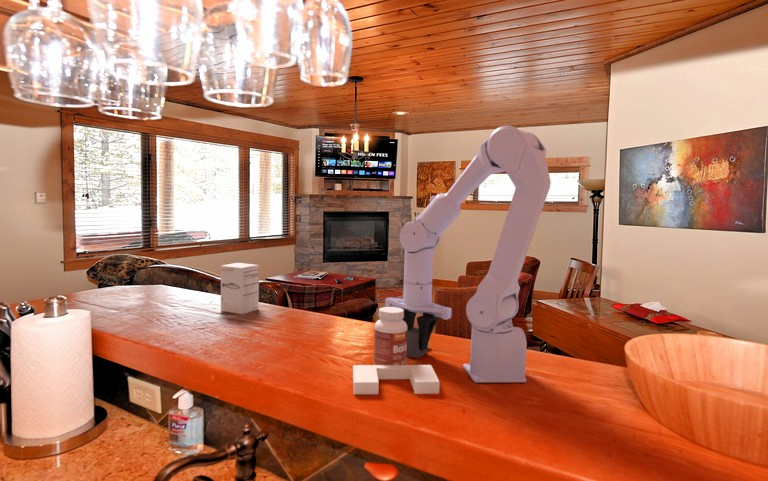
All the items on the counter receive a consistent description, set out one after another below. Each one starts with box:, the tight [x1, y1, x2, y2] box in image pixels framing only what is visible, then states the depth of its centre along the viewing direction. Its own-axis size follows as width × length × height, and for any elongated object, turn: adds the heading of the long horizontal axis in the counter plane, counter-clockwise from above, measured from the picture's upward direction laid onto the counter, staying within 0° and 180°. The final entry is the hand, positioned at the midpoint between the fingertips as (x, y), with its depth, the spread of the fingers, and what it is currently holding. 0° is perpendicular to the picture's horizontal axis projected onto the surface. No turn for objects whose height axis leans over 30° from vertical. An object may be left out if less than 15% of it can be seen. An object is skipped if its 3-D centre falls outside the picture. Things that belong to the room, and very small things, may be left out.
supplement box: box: [220, 262, 260, 315], centre depth 123 cm, size 7×7×13 cm
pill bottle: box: [373, 306, 407, 365], centre depth 85 cm, size 6×6×11 cm
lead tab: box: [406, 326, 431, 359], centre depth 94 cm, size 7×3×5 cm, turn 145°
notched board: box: [352, 364, 441, 395], centre depth 77 cm, size 14×8×2 cm, turn 95°
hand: (415, 347), depth 93 cm, fingers closed on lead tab, 3 cm apart
